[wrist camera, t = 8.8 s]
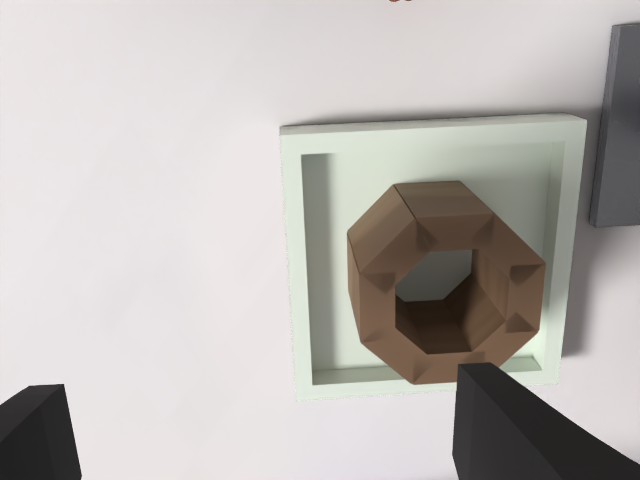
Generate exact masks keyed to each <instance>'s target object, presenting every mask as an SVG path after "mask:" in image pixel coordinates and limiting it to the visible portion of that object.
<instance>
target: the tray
mask: <svg viewBox="0 0 640 480" xmlns="http://www.w3.org/2000/svg"><path fill="white" fill-rule="evenodd" d="M586 129H587V120H585V119H582V118H579V117H576V116H573V115H570V114H568V113H553V114H532V115H511V116H491V117H470V118H449V119H428V120H408V121H387V122H366V123H345V124H325V125H304V126H283V127H280V132H279V137H280V153H281V170H282V186H283V202H284V218H285V235H286V251H287V267H288V283H289V299H290V316H291V332H292V348H293V364H294V381H295V397H296V401H311V400H326V399H341V398H356V397H371V396H386V395H402V394H417V393H432V392H447V391H456V388H457V382H453V383H438V384H422V385H413V384H410V383H409V382H408V381H407V380H405V379H404V378H403V377H402V376H400V375H399V374H398V373H397V372H396V371H394V370H393V369H392V368H391V367H389V366H388V365H387V364H386V363H384V362H383V361H382V360H381V359H380V358H378V357H377V356H376V355H375V354H373V353H372V352H371V351H370V350H368V349H367V348H366V347H365V346H364V345H362V344H361V342H360V339H359V335H358V331H357V326H356V322H355V318H354V314H353V309H352V305H351V301H350V297H349V293H348V269H347V230H348V229H349V228H350V227H351V226H352V225H353V224H354V223H355V222H356V221H357V220H358V219H359V218H360V217H361V216H362V215H363V214H364V213H365V212H366V211H367V210H368V209H369V208H370V207H371V206H372V205H373V204H374V203H375V202H376V201H377V200H378V199H379V198H380V197H381V196H382V195H383V194H384V193H385V192H386V191H387V190H388V189H389V187H390V186H391V185H392V184H393V185H394V184H400V183H420V182H439V181H461V182H462V183H463V184H464V185H465V186H466V187H467V188H468V189H469V190H471V191H472V192H473V193H474V194H475V195H476V196H477V197H478V198H479V199H480V200H481V201H482V202H483V203H485V204H486V205H487V206H488V207H489V208H490V209H491V210H492V211H493V212H494V213H495V214H496V215H497V216H498V217H499V218H500V219H502V220H503V221H504V222H505V223H506V224H507V225H508V226H509V227H510V228H511V229H512V230H513V231H514V232H515V233H516V234H517V235H518V236H519V237H520V238H521V239H522V240H523V241H524V242H525V243H526V244H527V245H528V246H529V247H530V248H531V249H532V250H533V251H534V252H535V253H536V254H537V255H538V256H539V257H541V258H542V259H543V260H544V261H545V263H546V269H545V279H544V289H543V299H542V310H541V320H540V330H539V331H538V332H539V333H537V334H536V335H535V336H534V337H533V338H532V339H531V340H530V341H528V342H527V343H526V344H525V345H524V346H523V347H522V348H521V349H519V350H518V351H517V352H516V353H515V354H514V355H513V356H511V357H510V358H509V359H508V360H507V361H506V362H505V363H504V364H502V365H501V366H500V367H499V368H500V369H501V370H503V371H504V372H505V373H507V374H508V375H509V376H511V377H512V378H513V379H515V380H516V381H517V382H519V383H520V384H521V385H523V386H537V385H553V384H558V380H559V371H560V362H561V353H562V344H563V335H564V326H565V317H566V308H567V299H568V290H569V281H570V272H571V263H572V254H573V245H574V237H575V228H576V219H577V210H578V201H579V192H580V183H581V174H582V165H583V156H584V147H585V138H586ZM471 262H472V249H471V250H453V251H435V252H429V253H428V254H427V255H426V256H425V257H424V258H423V259H422V260H421V261H420V262H419V263H418V264H417V265H416V266H415V267H414V268H413V269H412V270H410V271H409V272H408V273H407V274H406V275H405V276H404V277H403V278H402V279H401V280H400V281H399V282H398V283H397V284H396V285H395V294H396V295H397V296H398V297H399V298H401V299H402V300H403V301H404V302H410V301H427V300H443V299H444V298H445V297H446V296H447V295H448V294H449V293H450V292H451V291H452V290H453V289H455V288H456V287H457V286H458V285H459V284H460V283H461V282H462V281H463V280H464V279H465V278H466V277H467V276H468V275H469V274H470V273H471Z"/></svg>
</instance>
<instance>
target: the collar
mask: <svg viewBox="0 0 640 480" xmlns="http://www.w3.org/2000/svg"><path fill="white" fill-rule="evenodd" d="M471 249H472V262H471V273H470V274H469V275H468V276H467V277H466V278H465V279H464V280H463V281H462V282H461V283H460V284H459V285H458V286H457V287H456V288H455V289H453V290H452V291H451V292H450V293H449V294H448V295H447V296H446V297H445V298H444V299H443V300H427V301H410V302H404V301H403V300H402V299H401V298H399V297H398V296H397V295H396V294H395V285H396V284H397V283H398V282H399V281H400V280H401V279H402V278H403V277H404V276H405V275H406V274H407V273H408V272H409V271H410V270H412V269H413V268H414V267H415V266H416V265H417V264H418V263H419V262H420V261H421V260H422V259H423V258H424V257H425V256H426V255H427V254H428V253H429V252H435V251H453V250H471ZM347 269H348V293H349V297H350V301H351V305H352V309H353V314H354V318H355V322H356V326H357V331H358V335H359V339H360V342H361V344H362V345H364V346H365V347H366V348H367V349H368V350H370V351H371V352H372V353H373V354H375V355H376V356H377V357H378V358H380V359H381V360H382V361H383V362H384V363H386V364H387V365H388V366H389V367H391V368H392V369H393V370H394V371H396V372H397V373H398V374H399V375H400V376H402V377H403V378H404V379H405V380H407V381H408V382H409V383H410V384H413V385H422V384H438V383H453V382H457V372H458V364H465V363H485V362H491V363H492V364H494V365H495V366H497V367H498V368H499V367H500V366H501V365H502V364H504V363H505V362H506V361H507V360H508V359H509V358H510V357H511V356H513V355H514V354H515V353H516V352H517V351H518V350H519V349H521V348H522V347H523V346H524V345H525V344H526V343H527V342H528V341H530V340H531V339H532V338H533V337H534V336H535V335H536V334H537V333H539V332H538V331H539V330H540V320H541V310H542V299H543V289H544V279H545V269H546V263H545V261H544V260H543V259H542V258H541V257H539V256H538V255H537V254H536V253H535V252H534V251H533V250H532V249H531V248H530V247H529V246H528V245H527V244H526V243H525V242H524V241H523V240H522V239H521V238H520V237H519V236H518V235H517V234H516V233H515V232H514V231H513V230H512V229H511V228H510V227H509V226H508V225H507V224H506V223H505V222H504V221H503V220H502V219H500V218H499V217H498V216H497V215H496V214H495V213H494V212H493V211H492V210H491V209H490V208H489V207H488V206H487V205H486V204H485V203H483V202H482V201H481V200H480V199H479V198H478V197H477V196H476V195H475V194H474V193H473V192H472V191H471V190H469V189H468V188H467V187H466V186H465V185H464V184H463V183H462V182H461V181H439V182H420V183H400V184H394V185H393V184H392V185H391V186H390V187H389V189H388V190H387V191H386V192H385V193H384V194H383V195H382V196H381V197H380V198H379V199H378V200H377V201H376V202H375V203H374V204H373V205H372V206H371V207H370V208H369V209H368V210H367V211H366V212H365V213H364V214H363V215H362V216H361V217H360V218H359V219H358V220H357V221H356V222H355V223H354V224H353V225H352V226H351V227H350V228H349V229H348V230H347Z"/></svg>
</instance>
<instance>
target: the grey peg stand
mask: <svg viewBox="0 0 640 480" xmlns="http://www.w3.org/2000/svg"><path fill="white" fill-rule="evenodd" d="M589 223H590V224H591V225H593V226H594V227H613V226H631V225H640V25H619V26H612V33H611V42H610V50H609V59H608V67H607V75H606V84H605V92H604V100H603V109H602V117H601V126H600V134H599V142H598V151H597V159H596V168H595V176H594V184H593V193H592V201H591V209H590V218H589Z"/></svg>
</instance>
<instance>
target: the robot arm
mask: <svg viewBox="0 0 640 480" xmlns="http://www.w3.org/2000/svg"><path fill="white" fill-rule="evenodd" d="M452 455H453V459H454V463H455V467H456V470H457V474H458V478H459V480H640V464H638V463H636V462H634V461H633V460H631V459H629V458H628V457H626V456H624V455H623V454H621V453H620V452H618V451H617V450H615V449H613V448H612V447H610V446H609V445H607V444H605V443H604V442H602V441H601V440H599V439H598V438H596V437H594V436H593V435H591V434H590V433H588V432H587V431H585V430H584V429H583V428H581V427H580V426H578V425H577V424H575V423H574V422H572V421H571V420H569V419H568V418H567V417H565V416H564V415H562V414H561V413H560V412H558V411H557V410H555V409H554V408H553V407H551V406H550V405H548V404H547V403H546V402H544V401H543V400H542V399H540V398H539V397H538V396H536V395H535V394H534V393H532V392H531V391H530V390H528V389H527V388H526V387H524V386H523V385H521V384H520V383H519V382H517V381H516V380H515V379H513V378H512V377H511V376H509V375H508V374H507V373H505V372H504V371H503V370H501V369H500V368H498V367H497V366H495V365H494V364H492V363H491V362H485V363H465V364H458V372H457V388H456V403H455V419H454V435H453V451H452ZM81 477H82V474H81V469H80V464H79V459H78V454H77V449H76V444H75V438H74V433H73V428H72V423H71V418H70V413H69V408H68V403H67V398H66V393H65V388H64V384H56V385H36V386H29V387H27V388H25V389H24V390H22V391H20V392H19V393H17V394H16V395H14V396H13V397H11V398H10V399H8V400H7V401H5V402H4V403H2V404H1V405H0V480H81Z"/></svg>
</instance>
